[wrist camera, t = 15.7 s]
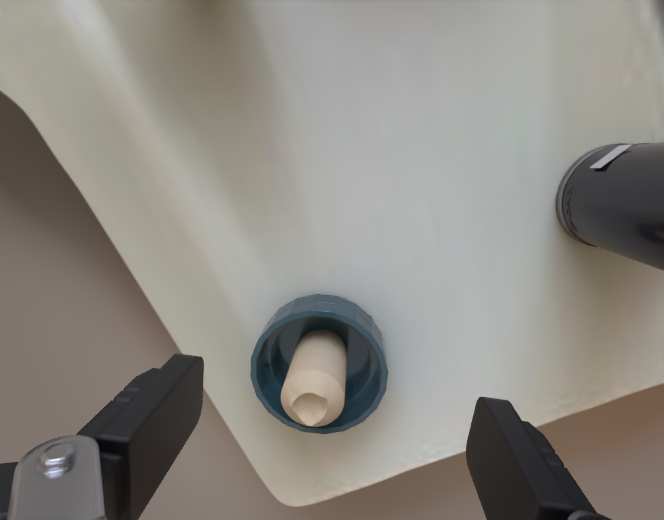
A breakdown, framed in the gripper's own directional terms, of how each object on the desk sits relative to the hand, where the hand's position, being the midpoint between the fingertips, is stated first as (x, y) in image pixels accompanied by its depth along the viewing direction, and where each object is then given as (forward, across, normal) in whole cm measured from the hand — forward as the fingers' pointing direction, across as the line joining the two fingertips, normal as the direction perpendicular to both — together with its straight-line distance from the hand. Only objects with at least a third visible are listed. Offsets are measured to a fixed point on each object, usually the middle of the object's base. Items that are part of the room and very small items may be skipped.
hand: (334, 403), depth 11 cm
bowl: (+28, +2, +13) cm, 31 cm away
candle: (+28, +2, +13) cm, 31 cm away
